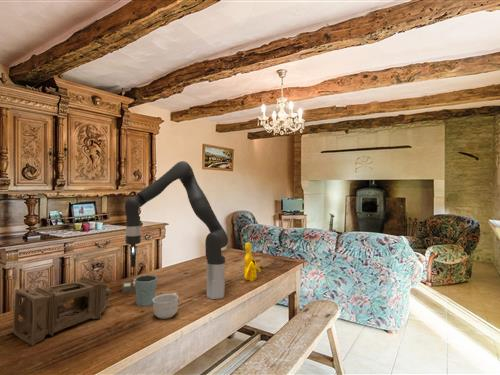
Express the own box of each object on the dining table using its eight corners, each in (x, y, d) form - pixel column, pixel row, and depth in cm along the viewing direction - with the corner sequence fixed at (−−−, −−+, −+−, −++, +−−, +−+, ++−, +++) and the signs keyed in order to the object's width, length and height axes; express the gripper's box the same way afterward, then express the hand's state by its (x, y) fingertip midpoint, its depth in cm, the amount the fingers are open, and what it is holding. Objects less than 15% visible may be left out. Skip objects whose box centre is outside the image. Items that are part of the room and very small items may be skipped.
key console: (150, 290, 160) (150, 282, 160) (121, 293, 155) (122, 285, 155) (149, 283, 171) (149, 275, 171) (123, 285, 166) (123, 278, 166)
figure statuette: (247, 284, 173) (248, 246, 172) (236, 281, 177) (237, 244, 177) (263, 276, 188) (264, 241, 187) (252, 274, 192) (253, 240, 192)
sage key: (130, 290, 157) (130, 285, 157) (123, 290, 156) (123, 286, 156) (130, 287, 161) (130, 282, 161) (124, 287, 160) (124, 283, 160)
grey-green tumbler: (150, 297, 151) (151, 273, 151) (160, 303, 144) (161, 278, 144) (130, 302, 144) (131, 277, 144) (140, 309, 137) (140, 283, 137)
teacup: (164, 323, 123) (164, 304, 123) (146, 317, 129) (147, 298, 129) (188, 311, 135) (188, 294, 135) (171, 306, 141) (171, 289, 141)
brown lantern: (101, 309, 142) (100, 269, 144) (124, 313, 133) (122, 271, 134) (12, 338, 113) (12, 288, 114) (34, 347, 103) (32, 292, 105)
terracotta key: (139, 287, 159) (139, 283, 159) (133, 288, 157) (133, 283, 157) (139, 284, 163) (139, 280, 163) (133, 285, 162) (133, 280, 162)
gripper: (140, 236, 155) (140, 269, 155) (140, 232, 167) (140, 263, 167) (125, 236, 152) (125, 270, 152) (125, 232, 164) (125, 264, 165)
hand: (133, 266), depth 160 cm, fingers closed
